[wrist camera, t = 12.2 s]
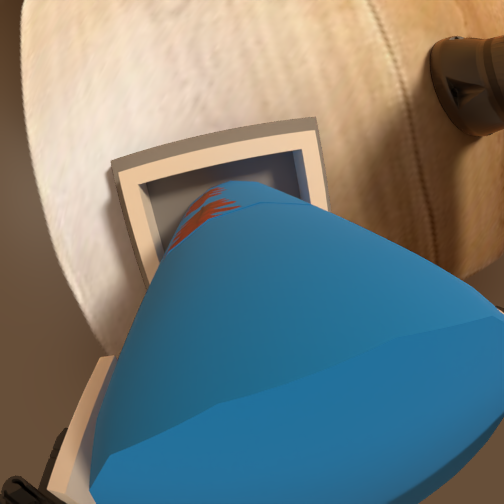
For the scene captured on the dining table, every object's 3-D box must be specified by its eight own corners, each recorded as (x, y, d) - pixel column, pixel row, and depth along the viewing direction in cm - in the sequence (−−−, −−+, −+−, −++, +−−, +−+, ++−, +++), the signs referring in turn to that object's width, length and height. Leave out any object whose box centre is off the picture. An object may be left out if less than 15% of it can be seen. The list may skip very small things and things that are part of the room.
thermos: (308, 255, 29) (489, 452, 6) (216, 304, 30) (245, 565, 6) (262, 158, 26) (547, 163, 2) (160, 213, 26) (-15, 446, 2)
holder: (310, 118, 27) (327, 112, 22) (334, 295, 33) (350, 313, 29) (115, 160, 25) (99, 160, 21) (168, 334, 32) (163, 358, 27)
